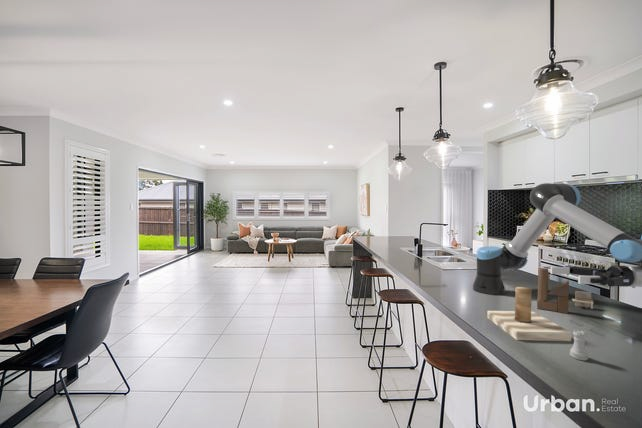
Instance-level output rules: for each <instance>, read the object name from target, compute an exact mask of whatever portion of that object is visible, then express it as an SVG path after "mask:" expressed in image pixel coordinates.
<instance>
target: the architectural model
mask: <svg viewBox="0 0 642 428" xmlns="http://www.w3.org/2000/svg"><path fill="white" fill-rule="evenodd" d="M574 296H575V297H574V298H571V300H572V301H573V302H575V303H574V306H575V307H579V306H580V308H585V309H588V307H590V308H589V309H592V310H593V309H594V308H593V307H594V304H595V303H594V300H593V299H594V298H592V292H591V291H582V290H581V291H580V290H575V294H574Z"/></svg>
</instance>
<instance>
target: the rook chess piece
mask: <svg viewBox="0 0 642 428" xmlns="http://www.w3.org/2000/svg"><path fill="white" fill-rule="evenodd" d="M572 335H573V345H572V346H571V348H570V349H569V355H570V357H572V358H573V359H576V360H578V361H583V362H584V361H588V360H589V359H590V358H589V354H588V353H589V352H588V350H587V349H586V346H585V345H586V337H587V335H586V331H584V330H581V331H580V330H579V329H574V331H573V332H572Z"/></svg>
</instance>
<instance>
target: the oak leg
mask: <svg viewBox="0 0 642 428" xmlns="http://www.w3.org/2000/svg"><path fill="white" fill-rule="evenodd" d="M514 291H515V294H514V295H515V296H514V297H515V298H514V302H515V303H514V311H515V320H516V321H518V322H520V323H531V311H532V299H533V298H532V295H533V294H532V292H533V290H532V288H529V287H524V286H517V287H515V290H514Z"/></svg>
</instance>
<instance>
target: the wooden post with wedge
mask: <svg viewBox="0 0 642 428" xmlns="http://www.w3.org/2000/svg"><path fill="white" fill-rule="evenodd" d="M537 271H538V272H537V273H538V274H537V299H536V309H537V310H544V311H551V312H558V313H562V314H569V299H570V298H569V292H570V290H569V289H570V288H569V287H570V280H569V279H568V278H567V279H565V280H563V281H562V282H561V283H559V284H558V285H557V286H555V287H553V288H552V289H550V290H549V268H545V267H539V268H538V270H537ZM548 295H551V296H556V301H553V300H548V299H549V298H548V297H549V296H548Z"/></svg>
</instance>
